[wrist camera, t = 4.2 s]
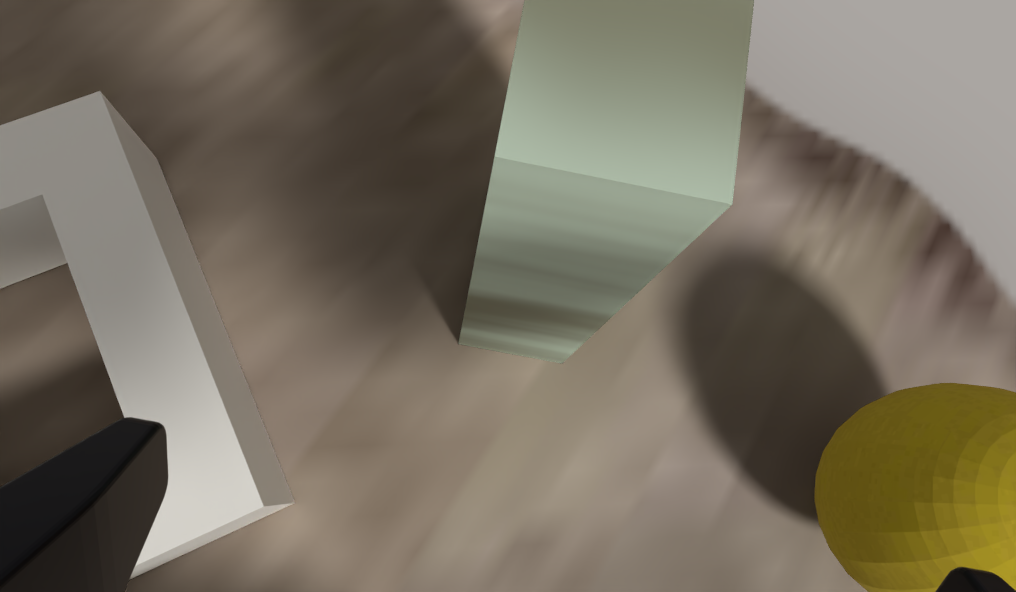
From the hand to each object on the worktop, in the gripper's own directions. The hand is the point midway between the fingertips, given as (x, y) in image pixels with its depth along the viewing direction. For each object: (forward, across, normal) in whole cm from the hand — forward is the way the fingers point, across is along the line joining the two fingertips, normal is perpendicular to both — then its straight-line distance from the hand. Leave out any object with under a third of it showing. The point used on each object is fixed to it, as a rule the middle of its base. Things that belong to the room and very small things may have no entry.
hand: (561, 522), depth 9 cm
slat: (+14, 0, +4) cm, 14 cm away
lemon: (+10, -10, +8) cm, 17 cm away
